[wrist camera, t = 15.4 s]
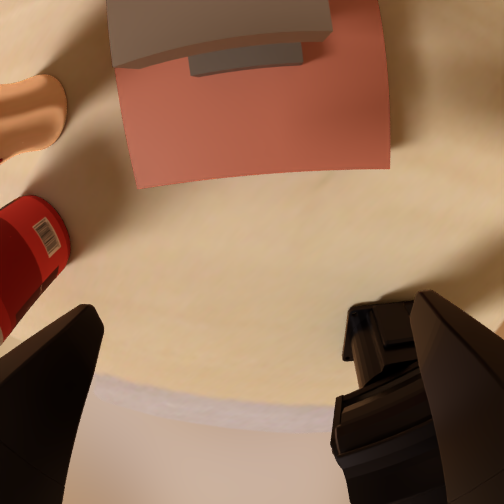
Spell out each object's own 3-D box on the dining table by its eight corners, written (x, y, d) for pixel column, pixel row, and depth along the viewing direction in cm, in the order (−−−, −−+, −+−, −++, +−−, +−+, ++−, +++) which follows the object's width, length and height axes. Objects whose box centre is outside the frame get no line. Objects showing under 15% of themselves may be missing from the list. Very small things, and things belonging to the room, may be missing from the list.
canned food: (17, 177, 19) (-75, 238, 10) (81, 220, 21) (-9, 307, 11) (11, 242, 23) (-58, 308, 13) (67, 283, 24) (4, 366, 15)
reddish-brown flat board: (373, 156, 17) (389, 168, 14) (156, 174, 19) (137, 189, 16) (338, -84, 8) (346, -105, 5) (128, -55, 10) (108, -69, 7)
